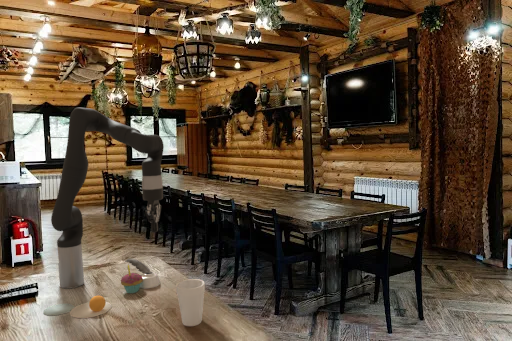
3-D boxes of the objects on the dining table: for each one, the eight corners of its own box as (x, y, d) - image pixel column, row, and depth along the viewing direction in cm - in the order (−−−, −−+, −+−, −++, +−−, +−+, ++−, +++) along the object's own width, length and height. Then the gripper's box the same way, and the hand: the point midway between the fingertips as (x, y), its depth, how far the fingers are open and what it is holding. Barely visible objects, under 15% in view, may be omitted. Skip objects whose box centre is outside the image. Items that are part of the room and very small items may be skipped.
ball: (84, 298, 148) (99, 291, 148) (93, 301, 153) (106, 294, 153) (87, 312, 146) (101, 305, 146) (95, 315, 150) (109, 308, 150)
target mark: (61, 312, 149) (61, 311, 149) (96, 298, 161) (96, 298, 161) (84, 321, 141) (84, 321, 141) (119, 306, 153) (119, 306, 153)
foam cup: (182, 331, 132) (180, 291, 131) (174, 319, 141) (172, 282, 139) (210, 323, 137) (208, 285, 136) (200, 313, 145) (199, 277, 144)
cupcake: (136, 295, 163) (135, 265, 162) (117, 294, 164) (115, 264, 163) (146, 287, 171) (145, 259, 170) (127, 286, 173) (126, 258, 172)
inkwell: (150, 290, 168) (149, 265, 167) (116, 284, 176) (115, 261, 175) (164, 282, 176) (163, 259, 175) (132, 277, 184) (130, 254, 183)
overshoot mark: (38, 311, 151) (38, 311, 151) (64, 301, 159) (64, 301, 159) (52, 318, 145) (52, 317, 145) (79, 307, 153) (79, 307, 153)
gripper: (156, 189, 152) (159, 236, 154) (166, 184, 165) (169, 227, 167) (136, 189, 153) (139, 236, 154) (148, 185, 166) (150, 228, 168)
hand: (154, 231), depth 161 cm, fingers closed
